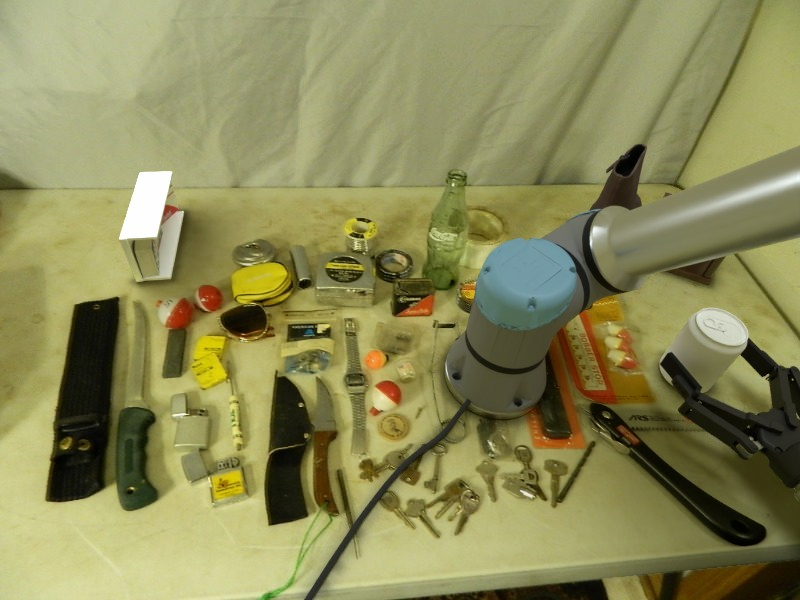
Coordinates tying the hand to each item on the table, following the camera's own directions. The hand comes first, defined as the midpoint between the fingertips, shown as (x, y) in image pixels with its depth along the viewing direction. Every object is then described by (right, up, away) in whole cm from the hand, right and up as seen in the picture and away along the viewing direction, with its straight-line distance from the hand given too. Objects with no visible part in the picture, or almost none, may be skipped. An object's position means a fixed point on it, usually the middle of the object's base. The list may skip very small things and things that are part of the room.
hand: (701, 347), depth 80 cm
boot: (-3, +21, +28) cm, 35 cm away
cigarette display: (-89, +18, +17) cm, 92 cm away
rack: (+9, +16, +25) cm, 31 cm away
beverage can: (0, -5, +5) cm, 7 cm away
